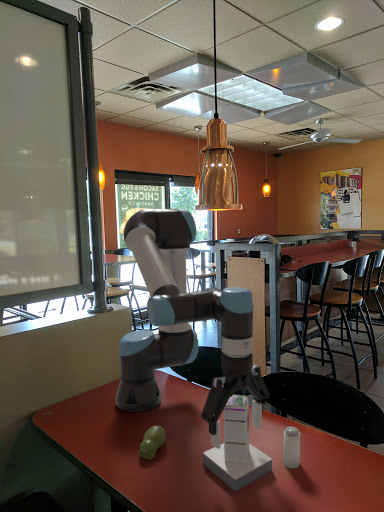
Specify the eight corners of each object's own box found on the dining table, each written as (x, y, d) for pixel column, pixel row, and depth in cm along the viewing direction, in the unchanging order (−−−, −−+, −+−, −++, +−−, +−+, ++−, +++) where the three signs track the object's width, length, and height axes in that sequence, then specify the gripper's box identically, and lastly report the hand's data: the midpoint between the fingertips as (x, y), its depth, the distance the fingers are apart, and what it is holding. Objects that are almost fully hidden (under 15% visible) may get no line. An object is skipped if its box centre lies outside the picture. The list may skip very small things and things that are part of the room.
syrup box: (248, 464, 90) (248, 406, 89) (223, 461, 91) (223, 404, 90) (249, 450, 96) (249, 395, 94) (226, 447, 97) (225, 393, 95)
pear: (168, 423, 104) (152, 450, 95) (170, 439, 105) (153, 467, 96) (150, 419, 106) (132, 445, 97) (152, 435, 107) (134, 462, 98)
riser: (203, 463, 95) (203, 452, 95) (238, 446, 102) (238, 436, 102) (235, 491, 86) (235, 479, 85) (272, 470, 92) (272, 458, 92)
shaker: (280, 462, 96) (280, 429, 95) (290, 456, 98) (290, 423, 97) (292, 470, 92) (293, 436, 91) (303, 464, 95) (303, 431, 94)
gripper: (205, 370, 80) (206, 463, 83) (284, 345, 95) (283, 425, 97) (185, 359, 87) (186, 446, 89) (262, 338, 101) (261, 413, 103)
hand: (237, 435), depth 93 cm, fingers open, 13 cm apart
